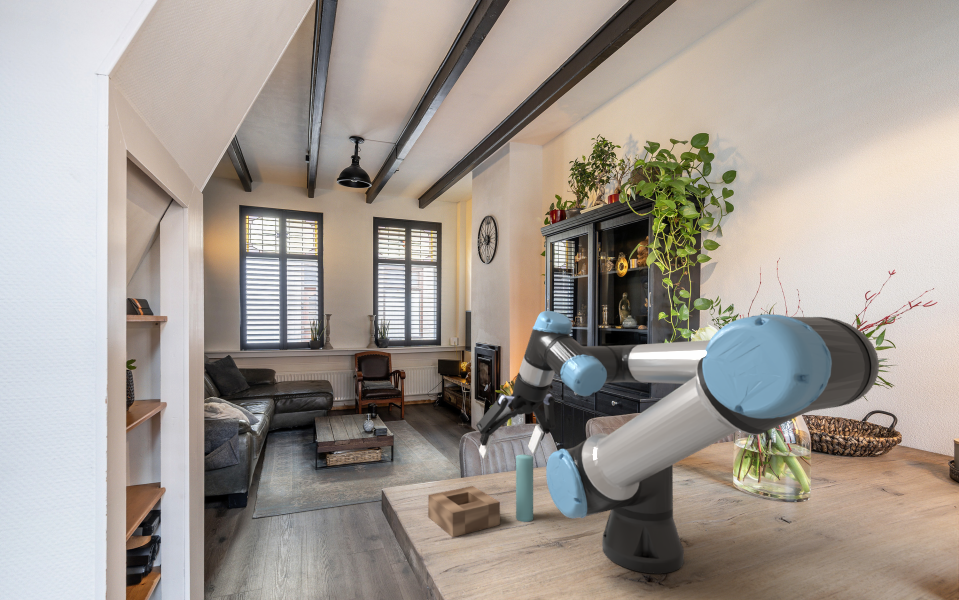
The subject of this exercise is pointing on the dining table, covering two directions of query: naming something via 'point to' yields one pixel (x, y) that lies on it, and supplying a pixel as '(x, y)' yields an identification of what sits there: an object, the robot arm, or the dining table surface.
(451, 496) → the socket block
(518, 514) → the dowel
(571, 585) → the dining table surface
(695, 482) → the dining table surface
